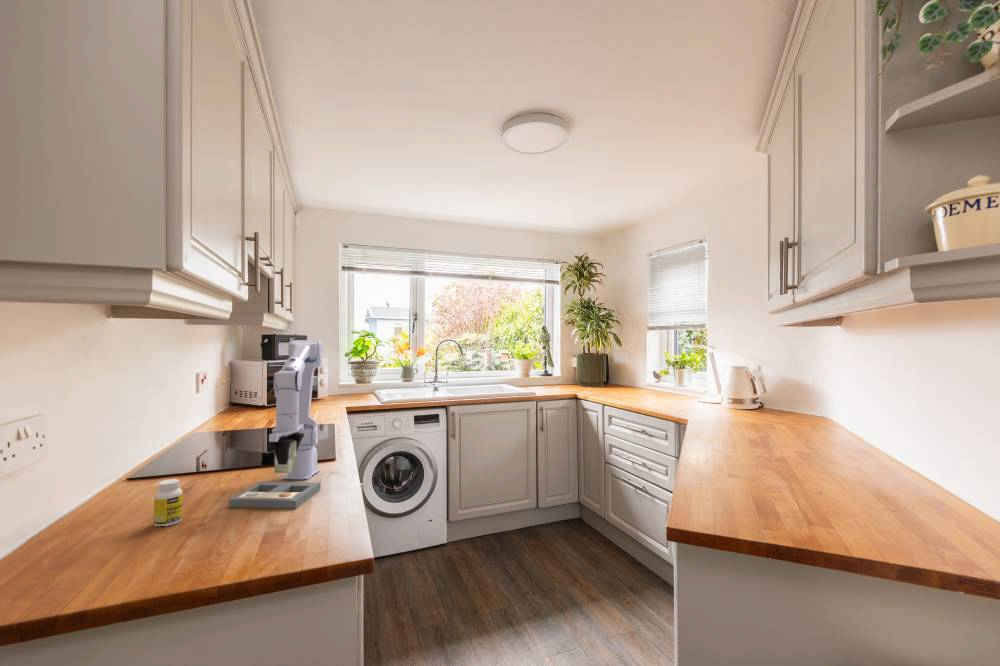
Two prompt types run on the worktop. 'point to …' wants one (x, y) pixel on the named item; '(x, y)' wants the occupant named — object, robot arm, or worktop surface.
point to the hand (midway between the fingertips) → (287, 461)
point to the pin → (287, 461)
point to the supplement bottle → (168, 503)
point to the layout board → (275, 495)
